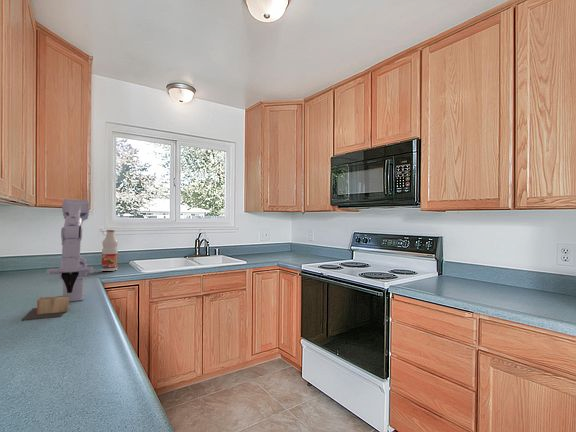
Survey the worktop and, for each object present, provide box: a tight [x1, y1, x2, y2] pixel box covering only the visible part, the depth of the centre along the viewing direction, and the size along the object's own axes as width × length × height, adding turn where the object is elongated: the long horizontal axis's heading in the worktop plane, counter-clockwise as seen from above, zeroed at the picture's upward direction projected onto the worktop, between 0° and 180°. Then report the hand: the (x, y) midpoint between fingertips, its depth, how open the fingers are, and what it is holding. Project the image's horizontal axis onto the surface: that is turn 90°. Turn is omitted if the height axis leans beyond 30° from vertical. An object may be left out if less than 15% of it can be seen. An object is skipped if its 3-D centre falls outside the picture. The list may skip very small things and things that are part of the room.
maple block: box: [36, 295, 70, 314], centre depth 118 cm, size 5×5×9 cm
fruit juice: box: [100, 229, 119, 272], centre depth 213 cm, size 9×9×28 cm
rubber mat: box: [21, 307, 64, 322], centre depth 117 cm, size 16×11×1 cm
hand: (69, 292), depth 120 cm, fingers closed
